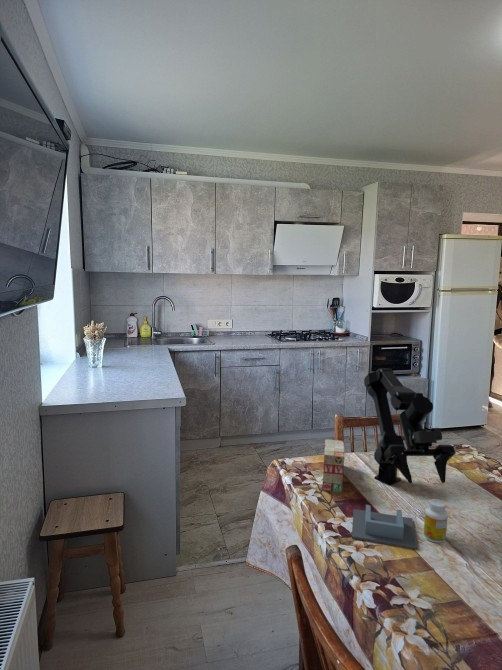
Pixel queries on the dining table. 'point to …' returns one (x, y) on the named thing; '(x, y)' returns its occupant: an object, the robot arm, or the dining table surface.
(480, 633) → the dining table surface
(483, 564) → the dining table surface
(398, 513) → the notch holder
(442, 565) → the dining table surface
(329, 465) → the stack of blocks
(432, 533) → the supplement bottle
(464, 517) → the dining table surface
